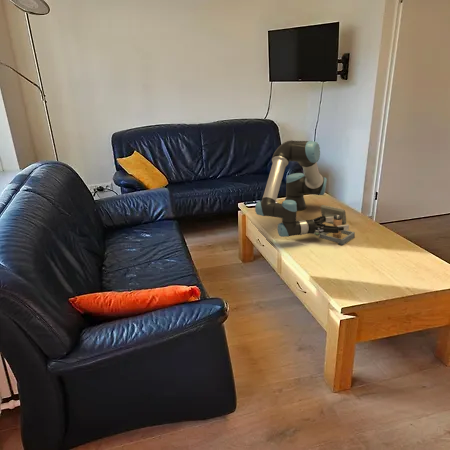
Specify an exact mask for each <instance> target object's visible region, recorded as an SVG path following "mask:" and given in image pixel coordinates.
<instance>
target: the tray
mask: <svg viewBox="0 0 450 450" xmlns="http://www.w3.org/2000/svg"><path fill="white" fill-rule="evenodd" d="M328 234H329V233H325V232H323V233H321V234H319V235H318V236H319V237H318V238H319V239H324V240H327V241H331V242H333V243H337V245H338V246H343V245H346V244H347V243H348V242H350V241H351V240H353V239H354V238H355V235H356V232H354V231H351V230H343V231H341V234H343V235H346V236H345V237H343V238H342V239H341V238H335V237H333V236H331V235H328Z"/></svg>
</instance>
